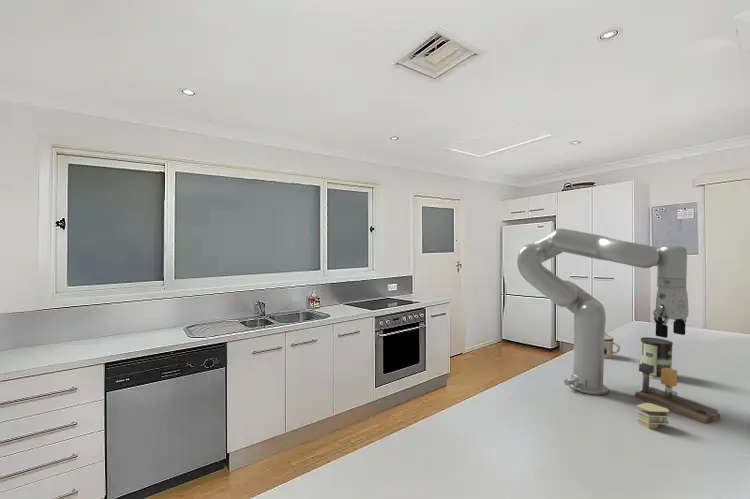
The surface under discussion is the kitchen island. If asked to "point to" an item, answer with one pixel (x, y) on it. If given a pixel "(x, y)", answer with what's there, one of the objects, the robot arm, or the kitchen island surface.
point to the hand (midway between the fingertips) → (670, 335)
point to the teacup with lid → (609, 346)
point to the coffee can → (656, 354)
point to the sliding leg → (669, 381)
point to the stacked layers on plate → (652, 415)
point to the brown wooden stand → (674, 400)
